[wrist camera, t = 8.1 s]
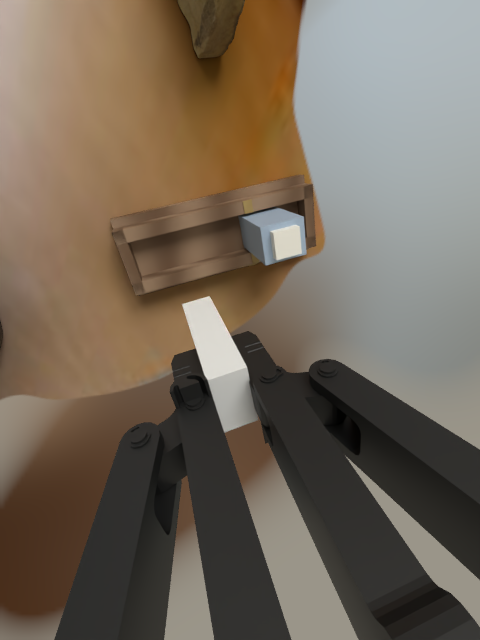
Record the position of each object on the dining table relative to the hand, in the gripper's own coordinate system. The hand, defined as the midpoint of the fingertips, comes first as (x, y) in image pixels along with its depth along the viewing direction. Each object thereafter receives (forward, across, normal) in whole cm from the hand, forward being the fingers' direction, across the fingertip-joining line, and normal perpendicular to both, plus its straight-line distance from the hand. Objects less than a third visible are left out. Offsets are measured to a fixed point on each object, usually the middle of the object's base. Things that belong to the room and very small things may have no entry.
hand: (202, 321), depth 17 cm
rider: (+17, +9, 0) cm, 20 cm away
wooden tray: (+18, +5, 0) cm, 19 cm away
